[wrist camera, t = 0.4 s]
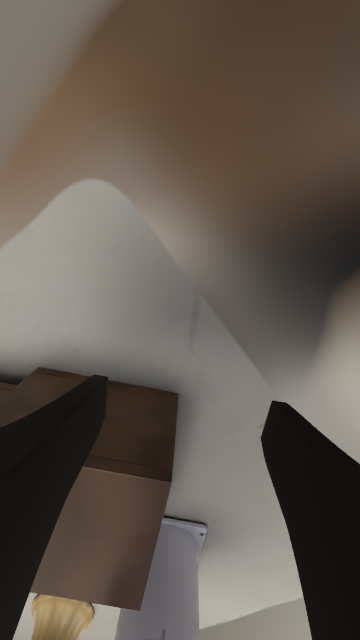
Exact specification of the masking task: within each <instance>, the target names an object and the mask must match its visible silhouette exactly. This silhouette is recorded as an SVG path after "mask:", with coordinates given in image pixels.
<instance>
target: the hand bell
mask: <svg viewBox="0 0 360 640" xmlns="http://www.w3.org/2000/svg"><path fill="white" fill-rule="evenodd" d="M32 615H33V619H34V628H33V635H32V640H77V638H78V636H79V635H80V633H81V632H82V631H83V630H84V629H85V628H86V627H87V626H88V625H89V624H90V623H91V621H92V619H93V617H94V610H93V607H92V606H91V604H90V603H89V602H84V601H78V600H72V599H67V598H61V597H55V596H49V595H43V594H40V595H38V596H37V597H36V598H35V599H34V601H33V603H32Z"/></svg>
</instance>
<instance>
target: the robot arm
mask: <svg viewBox="0 0 360 640" xmlns="http://www.w3.org/2000/svg"><path fill="white" fill-rule="evenodd" d="M107 383H108V377H106V376H99V375H93V376H91V377H90V378H88V379H86V380H85V381H83V382H82V383H80V384H79V385H77V386H76V387H74V388H73V389H71V390H70V391H68V392H67V393H65V394H63V395H62V396H60V397H59V398H57V399H55V400H54V401H52V402H50V403H48V404H47V405H45V406H43V407H41V408H40V409H38V410H36V411H34V412H32V413H30V414H29V415H27V416H25V417H23V418H20V419H18V420H16V421H14V422H12V423H10V424H8V425H6V426H3V427H1V428H0V640H12V639H13V637H14V634H15V631H16V628H17V625H18V623H19V620H20V617H21V614H22V611H23V609H24V606H25V603H26V601H27V598H28V595H29V593H30V590H31V587H32V585H33V582H34V579H35V577H36V574H37V571H38V569H39V566H40V563H41V561H42V558H43V556H44V553H45V551H46V548H47V546H48V543H49V541H50V538H51V535H52V533H53V530H54V528H55V525H56V523H57V521H58V518H59V516H60V513H61V511H62V508H63V506H64V503H65V501H66V499H67V497H68V495H69V493H70V490H71V488H72V486H73V484H74V483H75V481H76V479H77V477H78V475H79V473H80V471H81V469H82V467H83V465H84V463H85V461H86V459H87V457H88V455H89V453H90V451H91V450H92V448H93V446H94V444H95V442H96V440H97V438H98V435H99V432H100V430H101V427H102V424H103V422H104V419H105V416H106V401H107ZM261 442H262V447H263V453H264V457H265V462H266V465H267V468H268V471H269V474H270V477H271V480H272V483H273V486H274V489H275V492H276V495H277V498H278V501H279V504H280V507H281V510H282V513H283V516H284V519H285V522H286V525H287V529H288V532H289V536H290V540H291V544H292V548H293V552H294V556H295V560H296V564H297V569H298V573H299V578H300V582H301V587H302V591H303V596H304V601H305V605H306V610H307V616H308V621H309V625H310V631H311V636H312V640H360V464H359V463H358V462H356V461H355V460H354V459H352V458H351V457H350V456H348V455H347V454H346V453H345V452H344V451H342V450H341V449H340V448H338V447H337V446H336V445H335V444H334V443H332V442H331V441H330V440H329V439H328V438H327V437H325V436H324V435H323V434H322V433H321V432H320V431H318V430H317V429H316V428H315V427H314V426H312V424H311V423H309V422H308V421H307V420H306V419H305V418H304V417H303V416H302V415H300V414H299V413H298V412H297V411H296V410H295V409H293V408H292V407H291V406H290V405H289V404H287V403H285V402H278V401H272V403H271V406H270V409H269V413H268V416H267V419H266V422H265V426H264V429H263V432H262V436H261ZM206 534H207V526H206V525H203V524H197V523H192V522H186V521H181V520H175V519H169V518H164V517H163V520H162V524H161V528H160V532H159V536H158V540H157V544H156V548H155V552H154V556H153V560H152V564H151V568H150V573H149V577H148V581H147V585H146V589H145V593H144V597H143V601H142V605H141V609H140V611H137V610H131V609H125V608H121V610H120V615H119V620H118V625H117V631H116V636H115V640H199V598H198V558H199V555H200V552H201V549H202V546H203V543H204V540H205V537H206Z"/></svg>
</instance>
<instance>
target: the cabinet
mask: <svg viewBox="0 0 360 640" xmlns="http://www.w3.org/2000/svg"><path fill="white" fill-rule="evenodd" d="M88 378H90V377H87V376H81V375H76V374H71V373H66V372H60V371H55V370H50V369H44V368H37V369H36V370H35V371H34V372H32V373H31V374H30V375H29V376H27V377H26V378H25V379H24V380H23V381H22V382H21V383H19V384H18V385H17V386H16V387H15V388H14V389H13V390H11V391H10V392H9V393H8V394H7V395H6V396H4V397H3V398H2V399H1V400H0V428H1V427H3V426H6V425H8V424H10V423H12V422H14V421H16V420H18V419H20V418H23V417H25V416H27V415H29V414H30V413H32V412H34V411H36V410H38V409H40V408H41V407H43V406H45V405H47V404H48V403H50V402H52V401H54V400H55V399H57V398H59V397H60V396H62V395H63V394H65V393H67V392H68V391H70V390H71V389H73V388H74V387H76V386H77V385H79V384H80V383H82V382H83V381H85V380H86V379H88ZM177 408H178V394H177V393H171V392H166V391H161V390H155V389H150V388H145V387H140V386H134V385H129V384H124V383H118V382H113V381H108V383H107V401H106V416H105V419H104V422H103V424H102V427H101V430H100V432H99V435H98V438H97V440H96V442H95V444H94V446H93V448H92V450H91V451H90V453H89V455H88V457H87V459H86V461H85V463H84V465H83V467H82V469H81V471H80V473H79V475H78V477H77V479H76V481H75V483H74V484H73V486H72V488H71V490H70V493H69V495H68V497H67V499H66V501H65V503H64V506H63V508H62V511H61V513H60V516H59V518H58V521H57V523H56V525H55V528H54V530H53V533H52V535H51V538H50V541H49V543H48V546H47V548H46V551H45V553H44V556H43V558H42V561H41V563H40V566H39V569H38V571H37V574H36V577H35V579H34V582H33V585H32V587H31V590H30V592H31V593H37V594H43V595H49V596H55V597H61V598H67V599H72V600H78V601H84V602H90V603H96V604H102V605H108V606H113V607H119V608H125V609H131V610H137V611H140V609H141V605H142V601H143V597H144V593H145V589H146V585H147V581H148V577H149V573H150V568H151V564H152V560H153V556H154V552H155V548H156V544H157V540H158V536H159V532H160V528H161V524H162V520H163V515H164V511H165V507H166V503H167V499H168V495H169V491H170V487H171V483H172V471H173V458H174V446H175V433H176V421H177Z"/></svg>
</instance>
